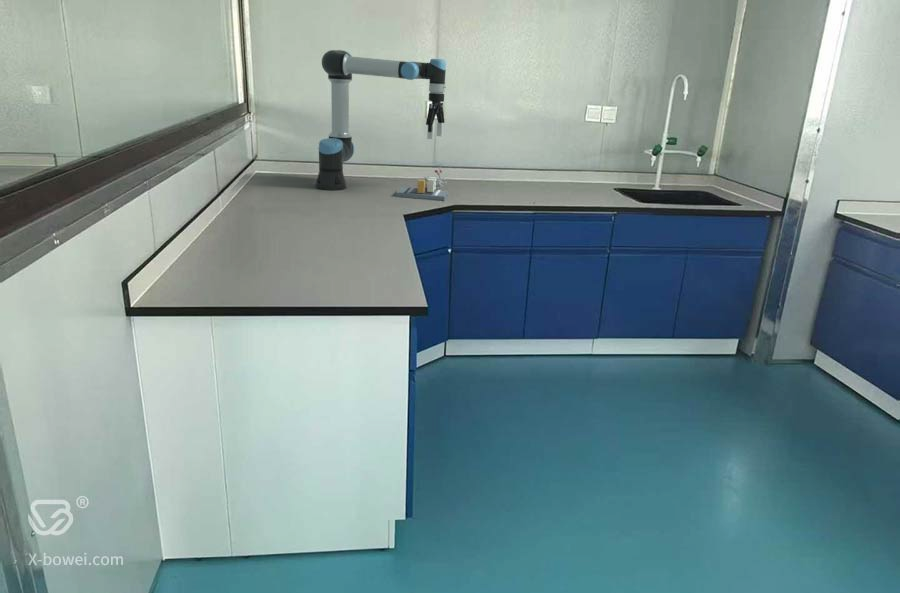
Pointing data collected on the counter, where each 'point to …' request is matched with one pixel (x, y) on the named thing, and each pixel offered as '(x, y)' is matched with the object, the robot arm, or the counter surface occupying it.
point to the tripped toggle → (421, 186)
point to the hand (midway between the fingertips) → (434, 137)
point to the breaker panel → (428, 194)
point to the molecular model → (437, 178)
